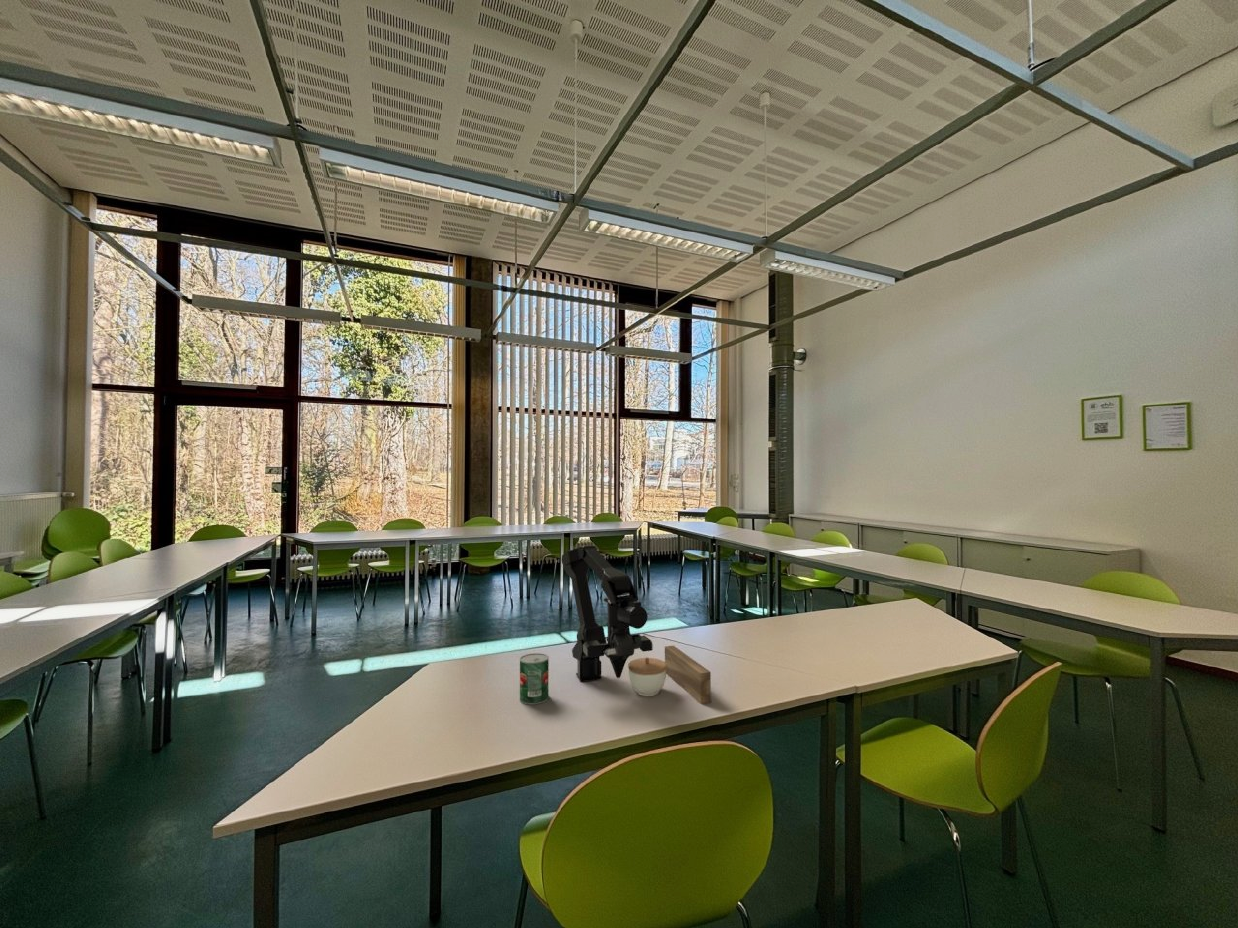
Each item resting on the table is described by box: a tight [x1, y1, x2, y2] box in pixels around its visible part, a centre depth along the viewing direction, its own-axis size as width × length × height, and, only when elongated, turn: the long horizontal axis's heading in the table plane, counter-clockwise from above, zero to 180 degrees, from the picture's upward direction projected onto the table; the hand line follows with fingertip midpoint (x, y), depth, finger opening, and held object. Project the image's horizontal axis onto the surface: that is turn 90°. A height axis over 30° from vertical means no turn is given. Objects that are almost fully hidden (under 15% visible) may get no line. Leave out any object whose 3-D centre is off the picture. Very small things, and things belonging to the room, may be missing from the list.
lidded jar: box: [627, 657, 667, 697], centre depth 142 cm, size 11×11×9 cm
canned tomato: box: [519, 652, 550, 705], centre depth 138 cm, size 8×8×11 cm
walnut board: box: [664, 645, 712, 705], centre depth 145 cm, size 3×24×8 cm, turn 18°
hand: (618, 677), depth 139 cm, fingers closed
